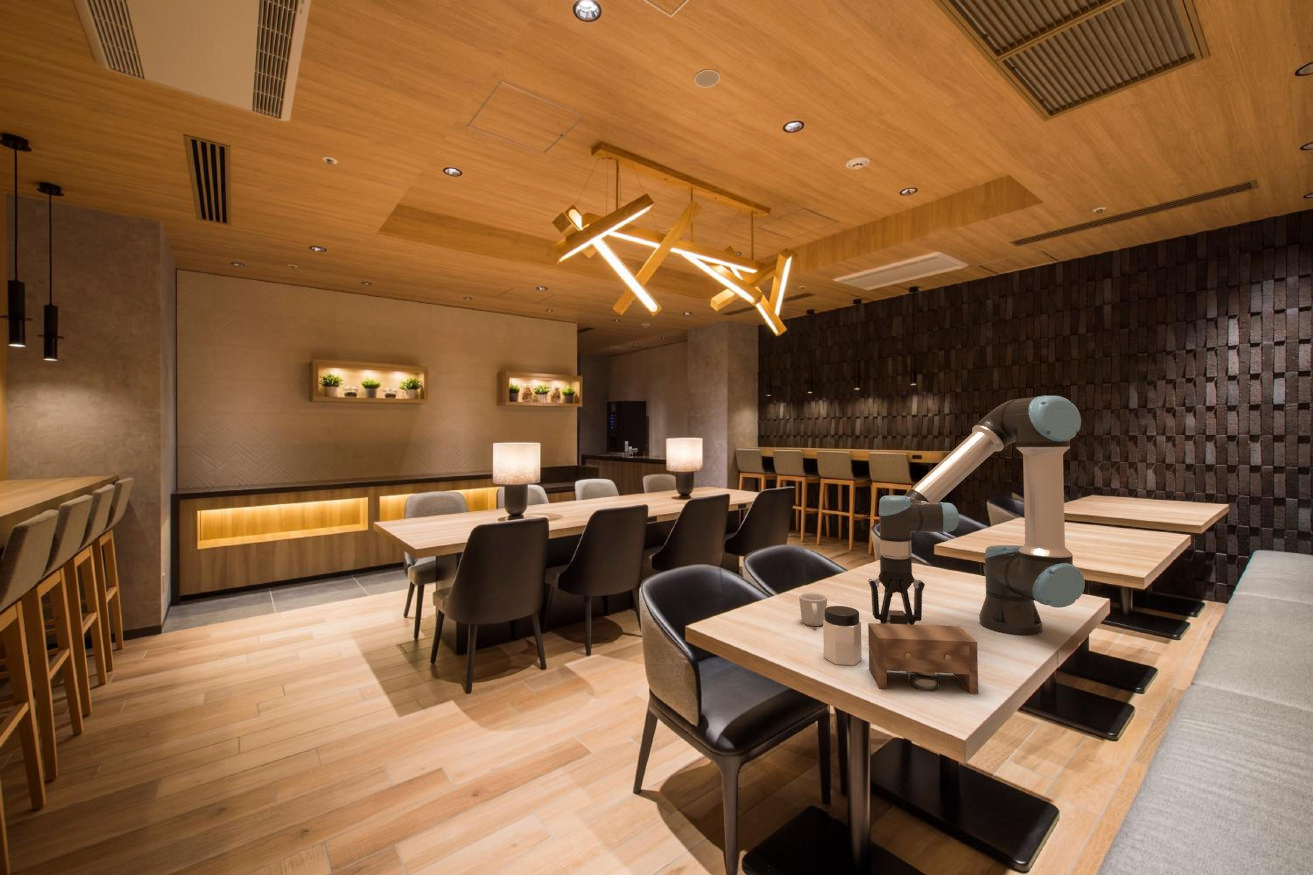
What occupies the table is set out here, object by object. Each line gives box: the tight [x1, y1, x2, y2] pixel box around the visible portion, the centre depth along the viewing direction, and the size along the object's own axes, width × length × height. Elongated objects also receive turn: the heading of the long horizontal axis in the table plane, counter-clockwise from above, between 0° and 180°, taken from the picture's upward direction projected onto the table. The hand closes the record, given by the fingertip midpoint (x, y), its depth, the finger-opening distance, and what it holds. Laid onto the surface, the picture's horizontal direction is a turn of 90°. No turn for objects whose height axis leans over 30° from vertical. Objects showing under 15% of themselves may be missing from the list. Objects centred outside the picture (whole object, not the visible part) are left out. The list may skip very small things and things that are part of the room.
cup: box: [798, 592, 828, 627], centre depth 163 cm, size 11×8×8 cm
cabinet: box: [867, 622, 979, 695], centre depth 124 cm, size 20×11×11 cm, turn 81°
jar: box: [822, 605, 863, 666], centre depth 137 cm, size 9×8×12 cm
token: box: [907, 672, 940, 692], centre depth 122 cm, size 6×6×2 cm
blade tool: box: [887, 609, 907, 624], centre depth 136 cm, size 4×19×9 cm, turn 170°
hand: (897, 646), depth 143 cm, fingers closed on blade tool, 4 cm apart
